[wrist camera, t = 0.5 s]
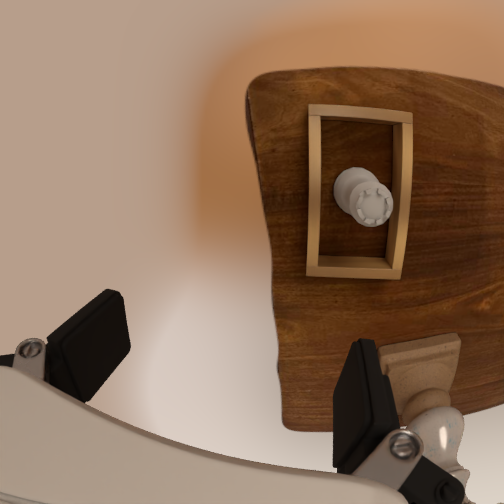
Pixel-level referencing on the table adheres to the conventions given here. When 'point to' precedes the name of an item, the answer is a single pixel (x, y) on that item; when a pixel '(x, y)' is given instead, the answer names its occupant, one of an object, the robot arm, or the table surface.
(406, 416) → the candle holder
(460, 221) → the table surface
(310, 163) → the rectangular wooden frame
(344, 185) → the rook chess piece
